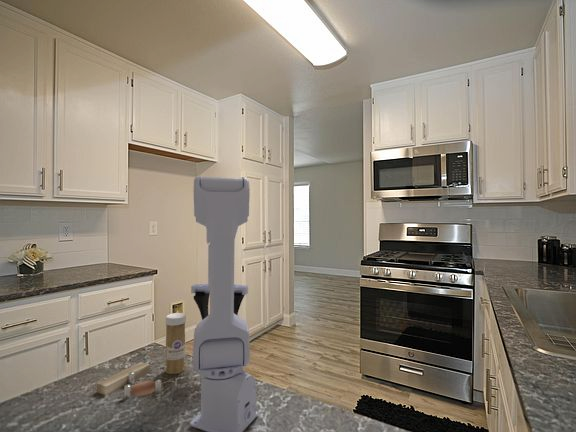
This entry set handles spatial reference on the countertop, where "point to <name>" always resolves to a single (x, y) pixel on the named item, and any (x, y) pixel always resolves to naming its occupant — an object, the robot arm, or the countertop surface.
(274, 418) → the countertop surface
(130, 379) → the guide pins
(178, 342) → the sprinkles bottle
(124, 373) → the wooden bar with disc
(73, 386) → the countertop surface
